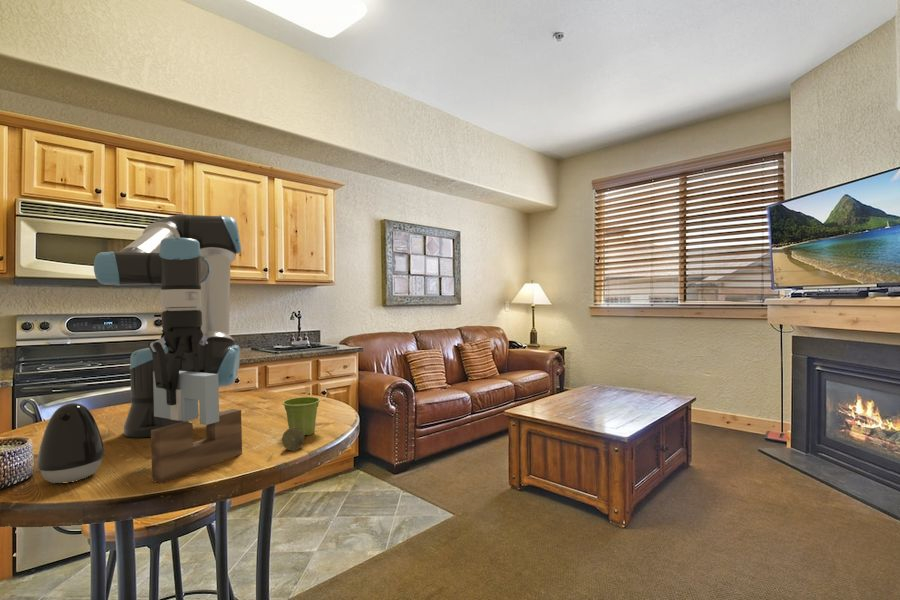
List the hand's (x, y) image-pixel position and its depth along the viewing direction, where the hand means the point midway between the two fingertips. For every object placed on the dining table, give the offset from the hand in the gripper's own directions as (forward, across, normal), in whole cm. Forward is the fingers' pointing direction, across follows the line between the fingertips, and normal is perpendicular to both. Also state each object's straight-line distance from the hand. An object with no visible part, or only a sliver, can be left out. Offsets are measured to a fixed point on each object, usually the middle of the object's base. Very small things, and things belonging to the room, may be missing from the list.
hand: (184, 417), depth 97 cm
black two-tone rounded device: (+10, -15, +13) cm, 22 cm away
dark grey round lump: (+10, +16, -15) cm, 24 cm away
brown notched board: (+10, 0, -5) cm, 11 cm away
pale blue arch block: (0, 0, 0) cm, 0 cm away
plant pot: (+10, +26, -8) cm, 29 cm away
